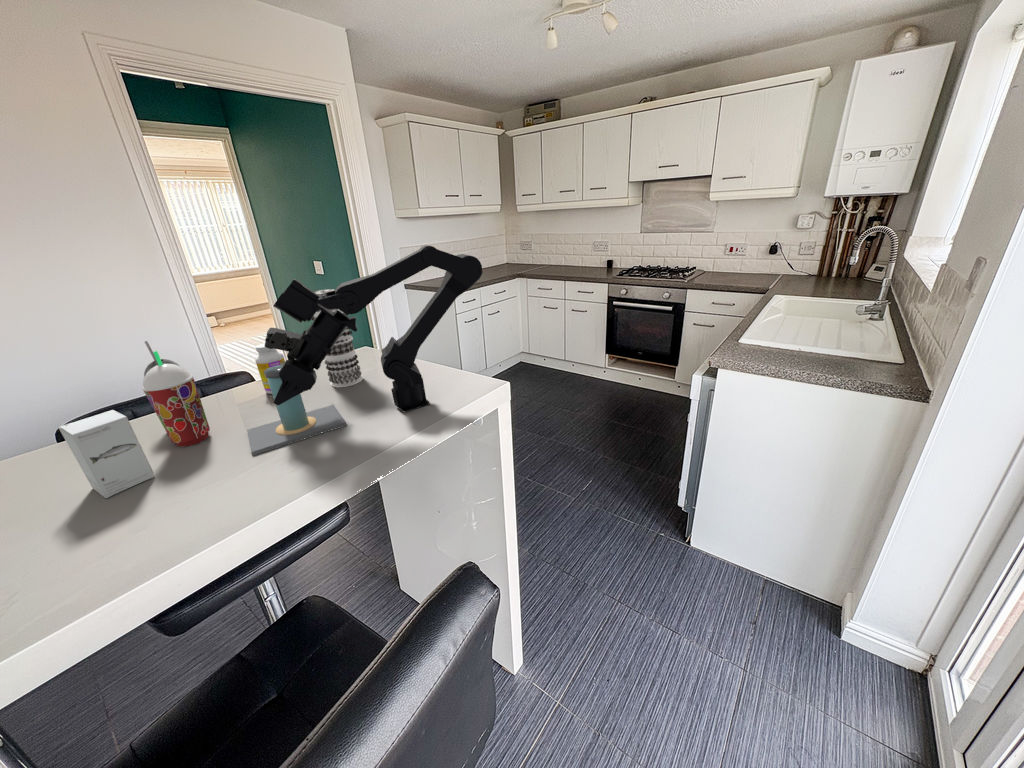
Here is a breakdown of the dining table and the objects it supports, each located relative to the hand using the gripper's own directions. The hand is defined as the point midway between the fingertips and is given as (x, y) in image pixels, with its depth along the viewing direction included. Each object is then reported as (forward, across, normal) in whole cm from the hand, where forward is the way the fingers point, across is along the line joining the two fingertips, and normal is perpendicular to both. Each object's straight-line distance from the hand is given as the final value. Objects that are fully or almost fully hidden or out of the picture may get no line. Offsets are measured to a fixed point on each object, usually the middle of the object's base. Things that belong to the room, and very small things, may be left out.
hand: (279, 395), depth 86 cm
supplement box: (+25, +7, -13) cm, 29 cm away
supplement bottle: (+10, -29, +2) cm, 31 cm away
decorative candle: (-2, -25, +14) cm, 29 cm away
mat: (+5, 0, +7) cm, 8 cm away
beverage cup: (+24, -18, -12) cm, 32 cm away
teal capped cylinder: (+4, 0, +6) cm, 7 cm away
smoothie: (+20, -6, -8) cm, 22 cm away
